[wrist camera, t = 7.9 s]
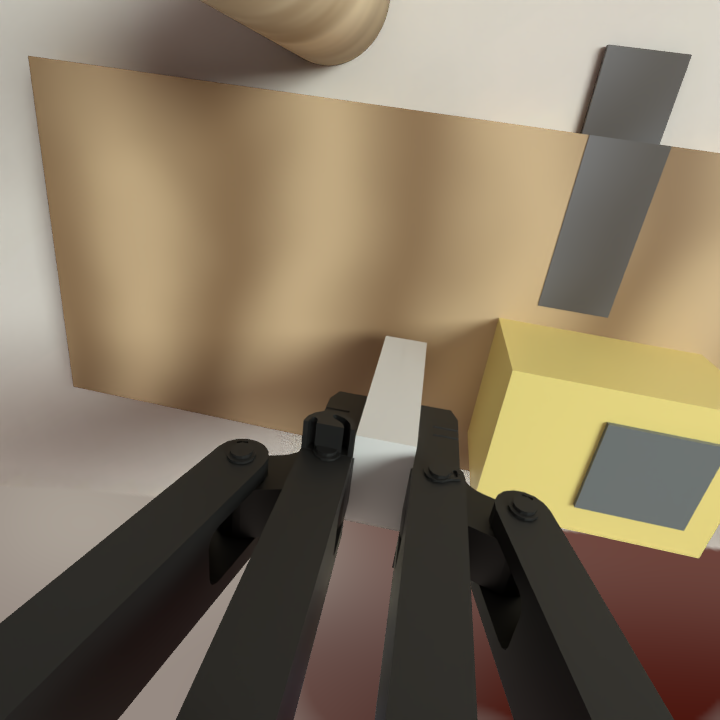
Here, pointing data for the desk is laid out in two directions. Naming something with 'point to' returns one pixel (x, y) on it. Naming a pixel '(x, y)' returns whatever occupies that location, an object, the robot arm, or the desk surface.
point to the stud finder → (601, 434)
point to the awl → (312, 25)
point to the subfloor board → (360, 235)
